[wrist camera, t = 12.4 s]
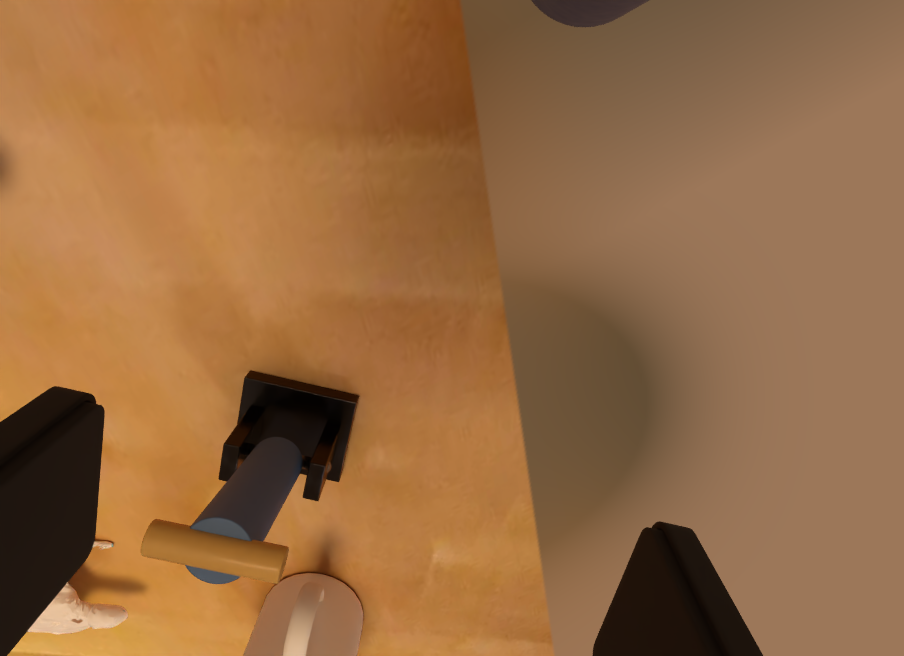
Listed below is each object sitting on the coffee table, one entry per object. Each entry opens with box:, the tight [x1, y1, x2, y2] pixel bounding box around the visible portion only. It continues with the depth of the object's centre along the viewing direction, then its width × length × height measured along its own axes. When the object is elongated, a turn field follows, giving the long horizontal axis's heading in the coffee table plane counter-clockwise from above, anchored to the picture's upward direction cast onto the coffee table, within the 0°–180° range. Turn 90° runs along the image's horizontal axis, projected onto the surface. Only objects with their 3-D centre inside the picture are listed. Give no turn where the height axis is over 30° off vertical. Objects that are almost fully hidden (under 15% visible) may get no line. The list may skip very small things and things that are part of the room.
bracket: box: [219, 371, 359, 501], centre depth 41 cm, size 6×8×6 cm
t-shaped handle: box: [141, 437, 303, 584], centre depth 33 cm, size 12×6×3 cm
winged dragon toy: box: [27, 541, 128, 634], centre depth 47 cm, size 18×10×4 cm, turn 83°
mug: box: [243, 573, 363, 656], centre depth 44 cm, size 12×8×10 cm, turn 168°
